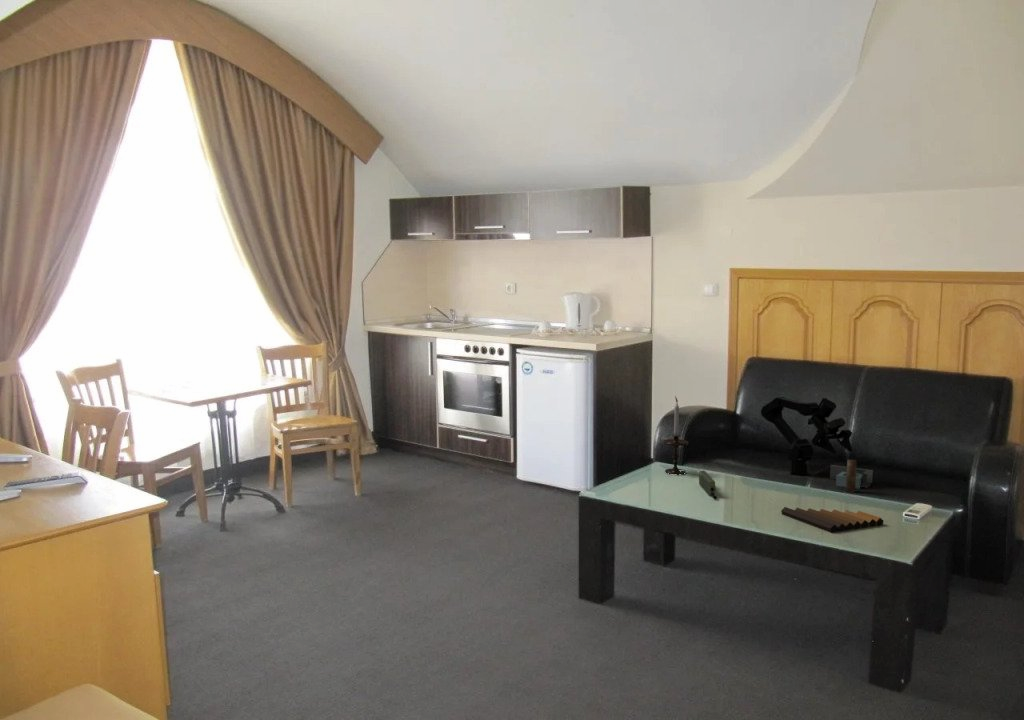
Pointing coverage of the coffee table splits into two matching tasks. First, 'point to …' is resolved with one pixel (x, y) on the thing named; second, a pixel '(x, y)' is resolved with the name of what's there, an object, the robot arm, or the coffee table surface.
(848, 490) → the dowel
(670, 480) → the coffee table surface
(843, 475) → the socket block
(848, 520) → the pan flute
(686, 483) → the coffee table surface
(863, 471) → the corner stop
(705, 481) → the handheld radio
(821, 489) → the coffee table surface
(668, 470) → the candlestick
